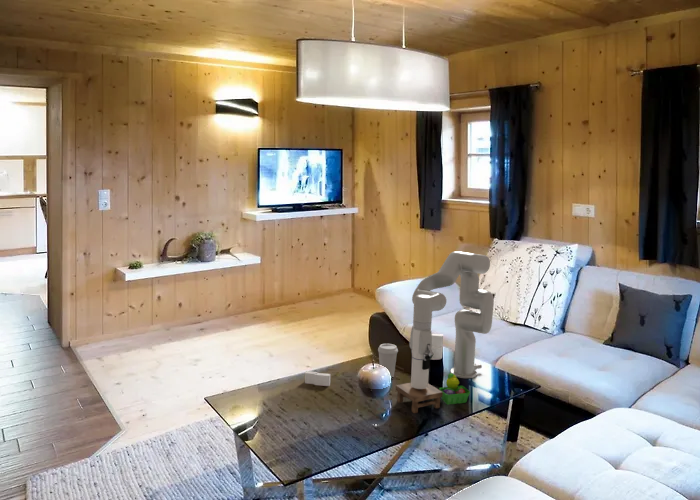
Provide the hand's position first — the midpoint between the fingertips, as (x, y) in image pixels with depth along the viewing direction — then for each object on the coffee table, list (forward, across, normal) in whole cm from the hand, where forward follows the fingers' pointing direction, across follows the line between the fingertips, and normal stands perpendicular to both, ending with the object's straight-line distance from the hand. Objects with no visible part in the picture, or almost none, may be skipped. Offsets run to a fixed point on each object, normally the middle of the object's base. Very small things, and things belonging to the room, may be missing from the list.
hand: (420, 365), depth 238 cm
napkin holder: (+18, -38, -30) cm, 51 cm away
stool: (+17, 0, 0) cm, 17 cm away
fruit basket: (+17, +3, +16) cm, 24 cm away
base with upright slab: (+18, -46, +41) cm, 64 cm away
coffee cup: (+17, -32, +4) cm, 37 cm away
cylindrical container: (+9, 0, 0) cm, 9 cm away
